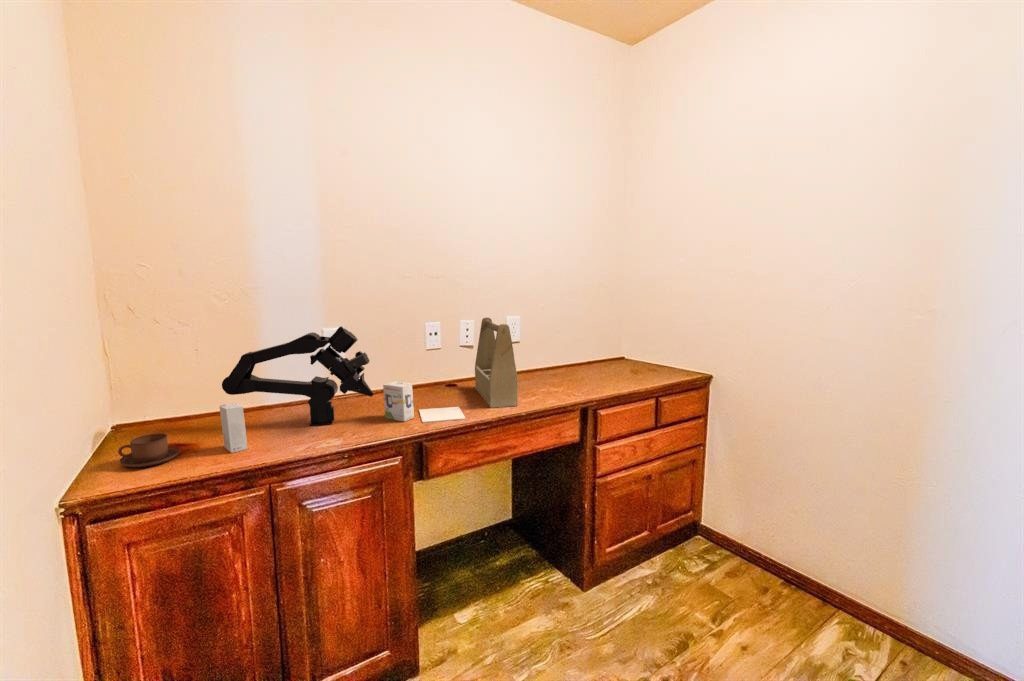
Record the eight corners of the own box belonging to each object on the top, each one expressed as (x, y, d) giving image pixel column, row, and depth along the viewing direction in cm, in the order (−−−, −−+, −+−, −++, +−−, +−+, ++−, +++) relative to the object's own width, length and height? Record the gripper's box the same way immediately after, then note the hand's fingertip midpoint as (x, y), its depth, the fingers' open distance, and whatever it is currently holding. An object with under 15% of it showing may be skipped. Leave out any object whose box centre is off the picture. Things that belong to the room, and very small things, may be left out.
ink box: (414, 418, 153) (413, 383, 152) (404, 422, 149) (402, 386, 147) (394, 414, 157) (393, 380, 156) (383, 418, 153) (382, 383, 151)
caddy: (474, 389, 193) (473, 317, 189) (499, 387, 196) (499, 316, 191) (489, 408, 165) (489, 324, 161) (518, 406, 168) (518, 323, 163)
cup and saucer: (126, 476, 109) (123, 451, 108) (116, 462, 117) (113, 439, 116) (186, 460, 118) (184, 437, 117) (173, 449, 126) (170, 427, 125)
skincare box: (248, 449, 126) (244, 406, 124) (229, 454, 122) (226, 409, 121) (240, 443, 130) (237, 401, 128) (222, 448, 126) (218, 405, 125)
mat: (422, 422, 148) (422, 421, 148) (418, 410, 162) (418, 409, 162) (465, 419, 152) (465, 418, 152) (458, 407, 165) (458, 406, 165)
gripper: (349, 349, 138) (388, 384, 142) (356, 340, 156) (391, 371, 160) (322, 376, 138) (362, 410, 141) (333, 364, 156) (368, 395, 160)
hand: (372, 395), depth 151 cm, fingers closed
